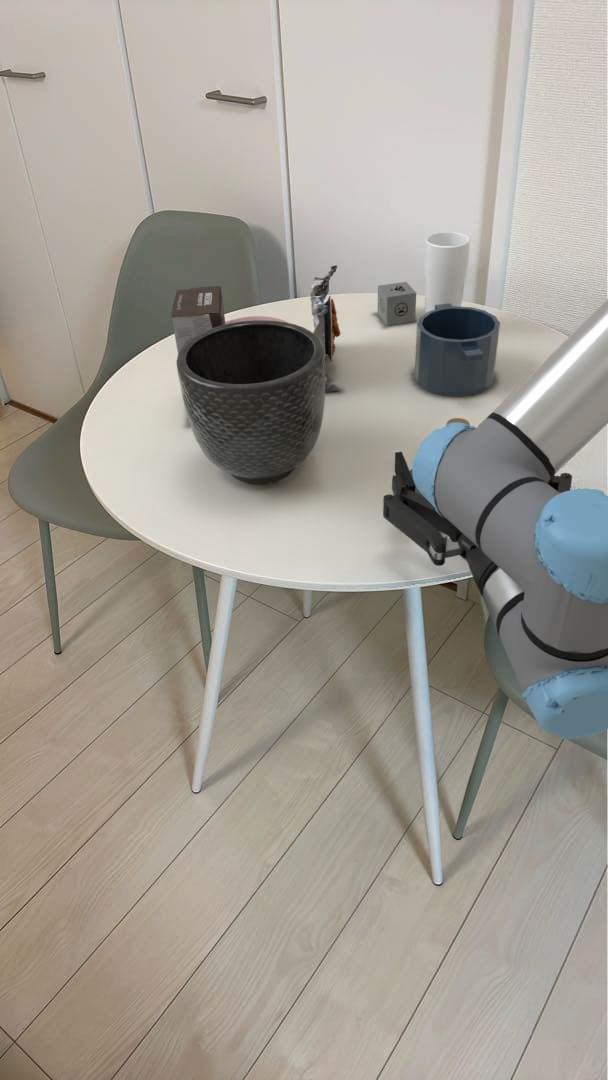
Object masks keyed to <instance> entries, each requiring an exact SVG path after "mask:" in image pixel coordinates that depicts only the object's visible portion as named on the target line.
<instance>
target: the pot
mask: <svg viewBox="0 0 608 1080" xmlns="http://www.w3.org/2000/svg"><path fill="white" fill-rule="evenodd" d="M500 327H501V322H500V321H499V319H498V318H497V316H496V315H494V314H492V313H490V312H489V311H486V310H485V309H480V308H477V307H472V306H461V307H459V306H453V307H452V305H451V304H450V303H449V304H440V305H435V310H432V311H428V312H427V313H425V312H424V313H423V314H422V315H421V316H419V318H418V319H417V323H416V337H415V338H416V339H415V340H416V341H415V359H414V360H415V361H414V378H415V381H416V384H418V385H419V387H421V388H422V389H423V390H425V391H427V392H429V393H432V394H435V395H439V396H444V397H467V396H468V397H469V396H473V395H476V394H481V393H482V392H484V391H486V390H487V389H488V388H490V387H491V386H492V384H493V381H494V375H495V368H496V361H497V353H498V351H497V350H498V345H499V338H500V337H499V335H500V329H501V328H500Z"/></svg>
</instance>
